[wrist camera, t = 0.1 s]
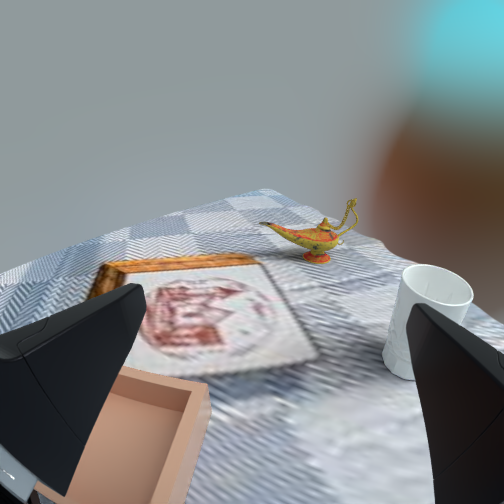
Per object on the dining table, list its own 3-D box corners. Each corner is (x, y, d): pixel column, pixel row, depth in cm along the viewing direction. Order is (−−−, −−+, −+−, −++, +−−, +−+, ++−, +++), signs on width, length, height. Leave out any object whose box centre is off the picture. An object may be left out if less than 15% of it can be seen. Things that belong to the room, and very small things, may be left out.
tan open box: (168, 554, 10) (152, 548, 8) (18, 476, 11) (-9, 454, 10) (211, 411, 22) (207, 384, 21) (82, 377, 24) (69, 349, 22)
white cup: (364, 364, 27) (389, 282, 23) (393, 329, 32) (415, 257, 28) (425, 396, 22) (467, 316, 18) (445, 354, 27) (477, 281, 23)
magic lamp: (254, 252, 53) (256, 192, 48) (345, 248, 55) (352, 193, 51) (261, 269, 47) (263, 202, 42) (360, 263, 49) (370, 203, 45)
